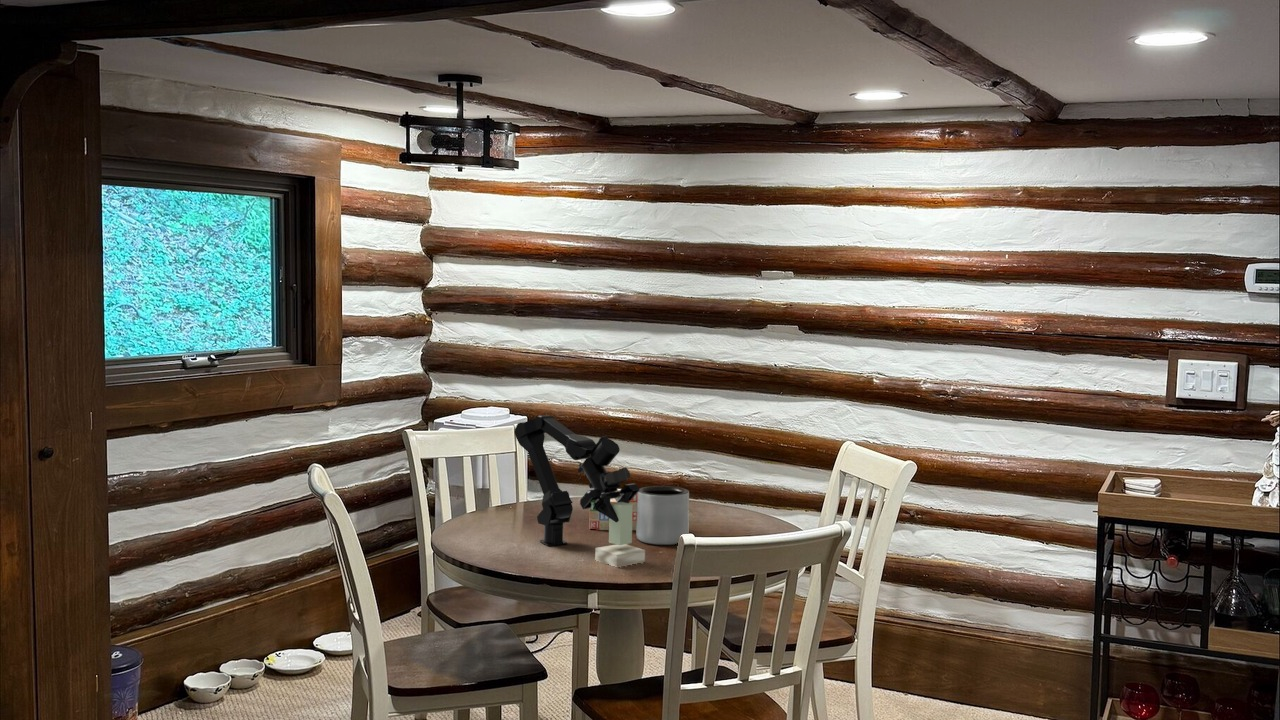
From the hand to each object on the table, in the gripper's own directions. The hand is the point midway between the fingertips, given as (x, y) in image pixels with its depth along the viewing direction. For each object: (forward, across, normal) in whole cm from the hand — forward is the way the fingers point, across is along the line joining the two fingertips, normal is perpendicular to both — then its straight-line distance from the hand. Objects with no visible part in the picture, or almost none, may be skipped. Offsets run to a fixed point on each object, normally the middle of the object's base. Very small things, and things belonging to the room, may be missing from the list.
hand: (623, 520), depth 313 cm
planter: (0, +28, +17) cm, 33 cm away
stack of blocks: (-14, +30, +32) cm, 46 cm away
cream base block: (+8, 0, +10) cm, 13 cm away
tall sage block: (+4, 0, +6) cm, 7 cm away
